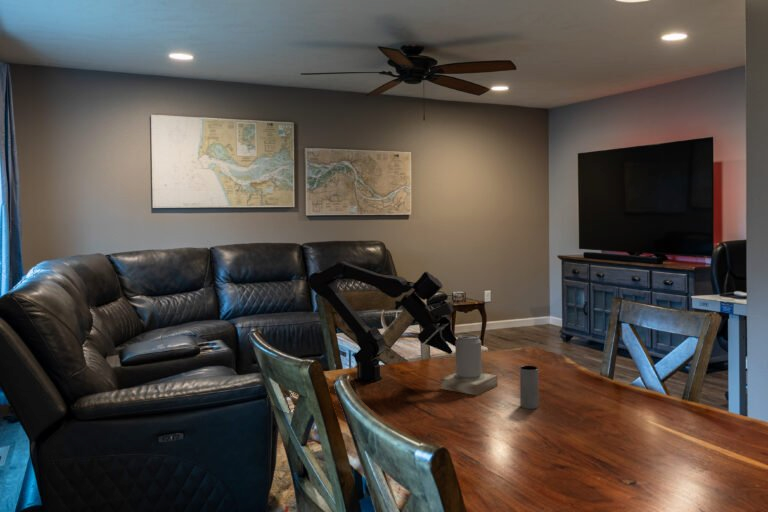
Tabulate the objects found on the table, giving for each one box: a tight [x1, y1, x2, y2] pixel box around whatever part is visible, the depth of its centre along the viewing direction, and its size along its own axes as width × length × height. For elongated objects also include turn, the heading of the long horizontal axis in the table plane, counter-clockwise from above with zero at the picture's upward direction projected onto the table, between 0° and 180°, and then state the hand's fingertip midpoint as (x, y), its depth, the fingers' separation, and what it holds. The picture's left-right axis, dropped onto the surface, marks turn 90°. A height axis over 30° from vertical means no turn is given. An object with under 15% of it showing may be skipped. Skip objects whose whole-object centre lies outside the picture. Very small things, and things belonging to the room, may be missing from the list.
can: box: [454, 333, 483, 379], centre depth 179 cm, size 8×8×12 cm
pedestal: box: [440, 372, 498, 396], centre depth 179 cm, size 12×12×3 cm
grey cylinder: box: [519, 365, 539, 410], centre depth 160 cm, size 4×4×10 cm
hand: (455, 349), depth 180 cm, fingers open, 9 cm apart
